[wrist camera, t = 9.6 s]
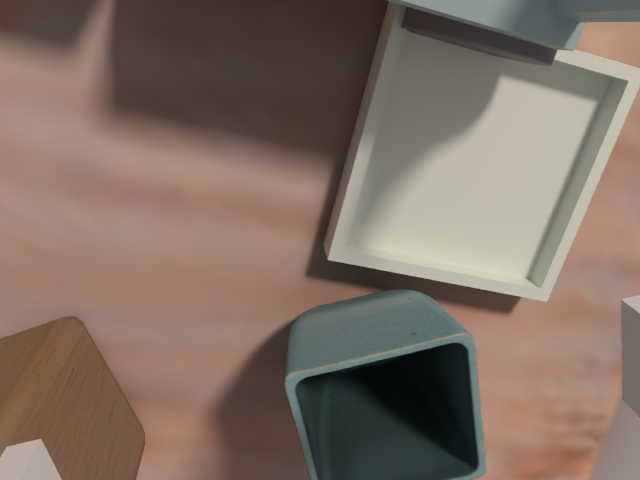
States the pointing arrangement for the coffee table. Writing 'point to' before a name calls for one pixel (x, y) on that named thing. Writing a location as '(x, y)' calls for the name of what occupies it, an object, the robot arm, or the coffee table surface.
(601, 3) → the trolley
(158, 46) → the coffee table surface
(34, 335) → the wooden block
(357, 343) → the flower pot
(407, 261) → the tray
